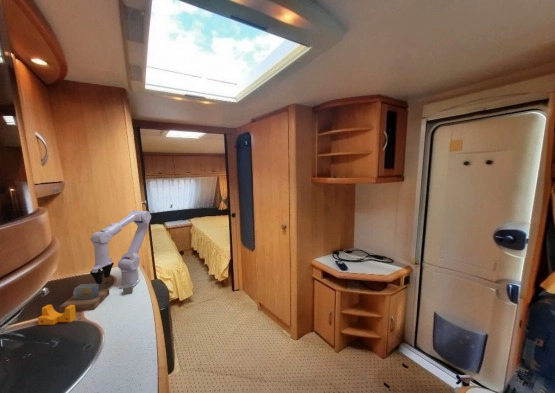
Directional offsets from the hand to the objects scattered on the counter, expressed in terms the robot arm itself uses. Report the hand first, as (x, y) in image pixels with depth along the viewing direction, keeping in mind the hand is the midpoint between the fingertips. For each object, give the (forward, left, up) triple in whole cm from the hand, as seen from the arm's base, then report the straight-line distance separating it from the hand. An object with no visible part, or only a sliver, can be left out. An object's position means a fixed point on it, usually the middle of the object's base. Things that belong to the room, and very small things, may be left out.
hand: (103, 280), depth 115 cm
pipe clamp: (+18, -10, -10) cm, 22 cm away
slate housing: (+4, -5, -6) cm, 9 cm away
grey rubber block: (-3, +10, -10) cm, 14 cm away
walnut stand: (+4, -6, -9) cm, 12 cm away
